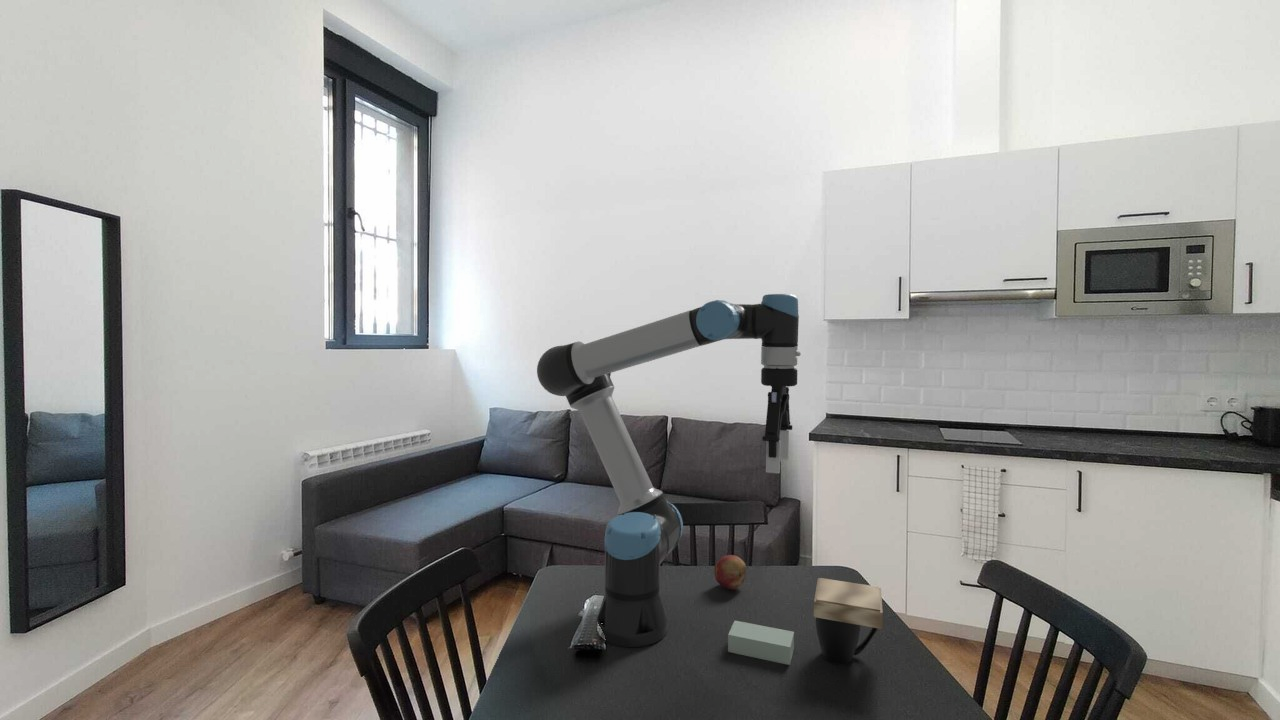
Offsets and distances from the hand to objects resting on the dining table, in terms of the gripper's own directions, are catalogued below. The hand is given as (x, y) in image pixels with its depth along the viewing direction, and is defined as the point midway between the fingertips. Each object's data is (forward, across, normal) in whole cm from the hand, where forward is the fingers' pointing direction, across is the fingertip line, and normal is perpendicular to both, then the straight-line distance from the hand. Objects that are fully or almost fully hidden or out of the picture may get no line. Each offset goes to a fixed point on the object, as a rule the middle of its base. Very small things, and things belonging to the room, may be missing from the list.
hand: (777, 465), depth 123 cm
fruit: (+35, +13, +13) cm, 39 cm away
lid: (+25, -8, -15) cm, 30 cm away
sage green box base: (+35, -12, +1) cm, 37 cm away
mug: (+35, -8, -15) cm, 39 cm away
